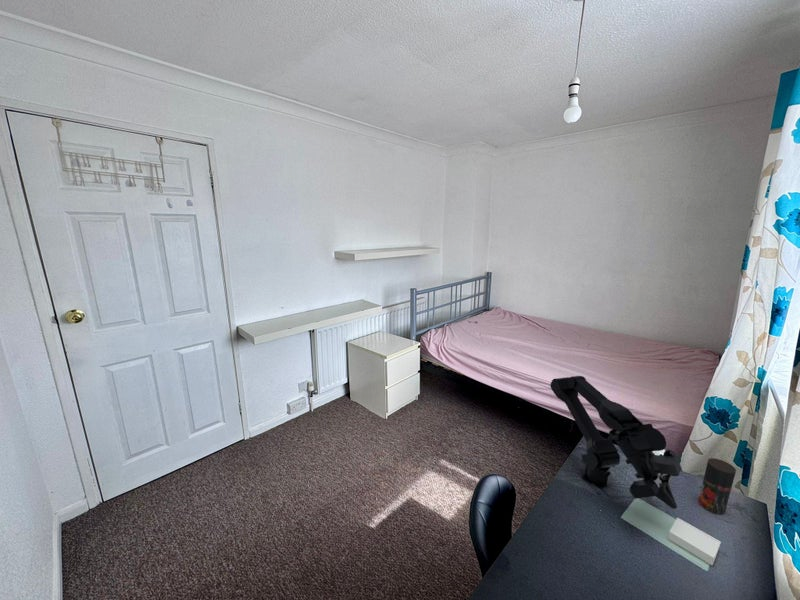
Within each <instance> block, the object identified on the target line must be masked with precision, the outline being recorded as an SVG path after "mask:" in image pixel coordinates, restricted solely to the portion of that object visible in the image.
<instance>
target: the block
mask: <svg viewBox="0 0 800 600" xmlns="http://www.w3.org/2000/svg"><path fill="white" fill-rule="evenodd" d="M675 519H676V521H675V522H674V524H673V526H672V528H671V529H670V531H669V535H668V539H669V540H670V541H672V542H674V543H675V544H677V545H678V546H680V547H682V548H683V549H685V550H687V551H688V552H690V553H692V554H693V555H695V556H697V557H698V558H700V559H701V560H703V561H705V562H706V563H708V564H710V566H713V565H714V563H715V559H716V558H717V556H718V552H719V549H720V546H721V543H722V542H721V541H720V540H718V539H717V538H714V537H713V536H711V535H709V534H708V533H706V532H705V531H702V530H701V529H699V528H697V527H695V526H693V525H692V524H690V523H688V522H686V521H684V520H682V519H681V518H679V517H676V518H675Z"/></svg>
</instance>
